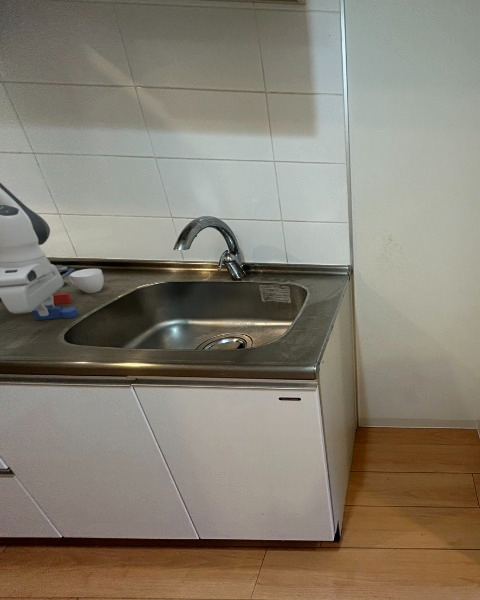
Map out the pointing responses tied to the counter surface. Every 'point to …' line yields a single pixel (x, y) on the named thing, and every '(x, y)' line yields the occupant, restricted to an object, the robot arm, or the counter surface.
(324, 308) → the counter surface
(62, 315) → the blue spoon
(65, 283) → the dark blue open frame
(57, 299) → the red stepped block
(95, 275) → the cup
